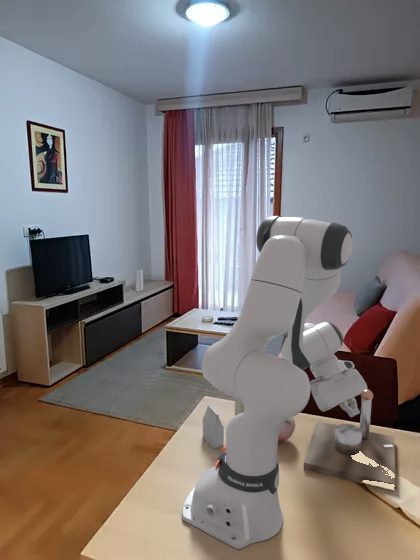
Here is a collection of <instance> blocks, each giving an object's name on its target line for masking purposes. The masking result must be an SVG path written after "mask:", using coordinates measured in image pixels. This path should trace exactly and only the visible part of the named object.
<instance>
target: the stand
mask: <svg viewBox="0 0 420 560" xmlns="http://www.w3.org/2000/svg"><path fill="white" fill-rule="evenodd" d="M337 425H338V424H337ZM337 425H336V424H333V423H327V422H321V421H316V422H315V425H314V429H313V431H312V434H311V438H310V441H309V445H308V447H307V451H306V455H305V457H304V461H303V470H305V471H308V472H313V473H316V474H321V475H326V476H330V477H334V478H336V479H337V478H339V479H341V480H346V481H348V482H349V481H350V482H354V483H359V484H362V485H364V484H363V483H362V481H363V480H369V481H377V482H384V483H388V484H394V485H396V484H397V480H396V479H397V478H392V479H391V476H388V475H389V474H388V472H387V471H388V470H387V471H385V470H384V468H382V467H381V466H384V467H387V468H388V469H389V470H391V471H392V472H393V473H394V474H395V475H396V454H395V452H396V451H395V436H393V435H389V434H383V433H377V432H373V431H369V439H367V440H365V439H362V441H361V452H362V453H363V454H364V455H365V456H366V457H368V458H370V459H372V460H374V461H375V462H376V463H377V464H379V466H377V467H373V466H372V465H371V464H370V463H369V465H366V464H363V463H360V462H357V461H355V460H353V459H352V457H351V455H348V454H344V453H341V452H339V451H338V450H337V449H336V448H335V446H334V441H335V427H336V426H337ZM383 445H392V446H393V448H384V446H383ZM370 465H371V466H370ZM380 465H381V466H380ZM382 471H383V472H382ZM386 472H387V473H386ZM385 474H388V475H385ZM396 486H397V485H396Z"/></svg>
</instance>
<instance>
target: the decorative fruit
mask: <svg viewBox="0 0 420 560" xmlns="http://www.w3.org/2000/svg"><path fill="white" fill-rule="evenodd" d="M295 429H296V421H295V419H294V417H292V418H289V419H287V420H286V421H284V423H283V424H282V426H281V428H280V431H279V435H278V442H281V441H287V440H288V439H290V438H291V437H292V435H293V434H294V432H295Z"/></svg>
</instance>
